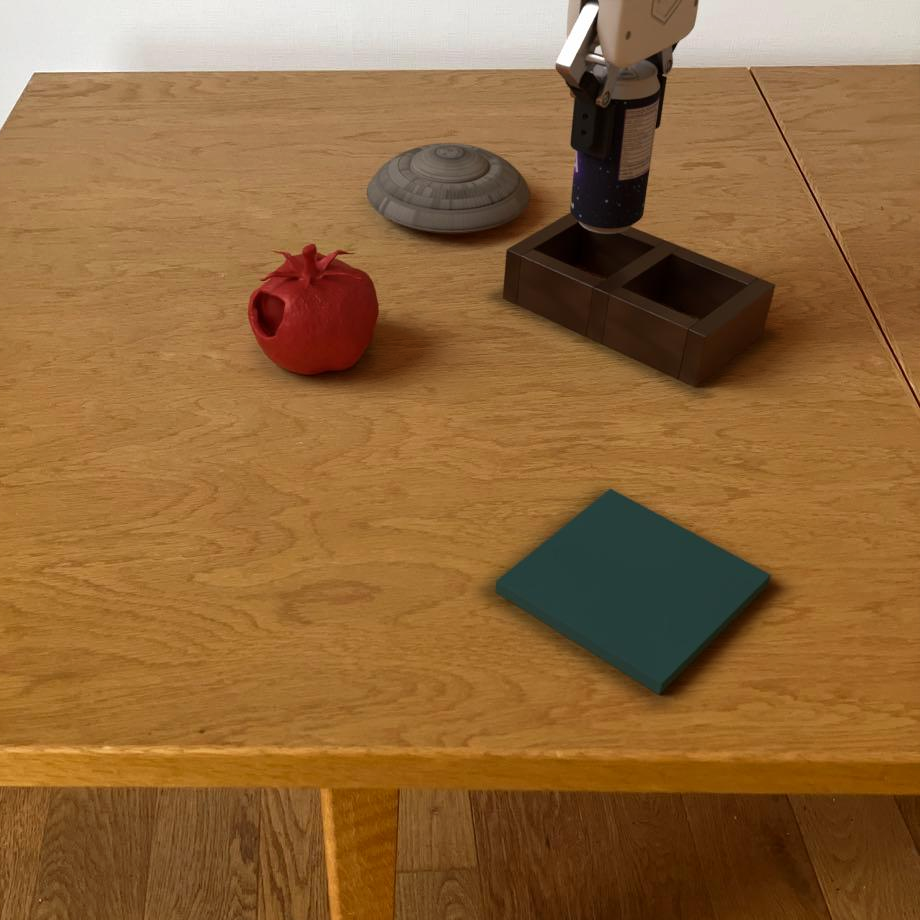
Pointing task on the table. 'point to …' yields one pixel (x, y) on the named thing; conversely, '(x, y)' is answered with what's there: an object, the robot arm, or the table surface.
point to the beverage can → (619, 155)
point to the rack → (639, 296)
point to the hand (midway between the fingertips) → (615, 136)
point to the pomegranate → (314, 313)
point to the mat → (633, 588)
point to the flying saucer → (448, 189)
